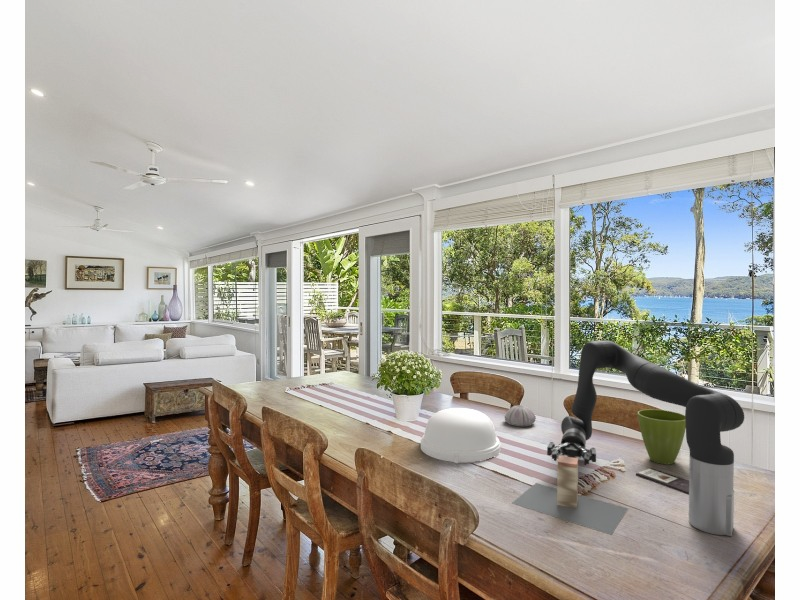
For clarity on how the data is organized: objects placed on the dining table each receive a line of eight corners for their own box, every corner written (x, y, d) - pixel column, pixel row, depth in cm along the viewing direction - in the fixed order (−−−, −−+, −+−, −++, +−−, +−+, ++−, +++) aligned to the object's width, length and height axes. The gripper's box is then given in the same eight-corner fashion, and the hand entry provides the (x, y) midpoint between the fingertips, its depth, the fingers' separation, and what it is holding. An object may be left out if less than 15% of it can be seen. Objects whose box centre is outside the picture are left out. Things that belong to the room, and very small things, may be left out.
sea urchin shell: (524, 430, 194) (524, 411, 194) (498, 423, 204) (498, 405, 204) (541, 424, 203) (541, 406, 203) (515, 417, 213) (515, 400, 213)
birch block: (577, 500, 129) (578, 458, 129) (576, 508, 124) (577, 464, 124) (558, 497, 131) (559, 455, 131) (557, 504, 127) (557, 461, 126)
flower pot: (631, 460, 160) (632, 415, 159) (644, 449, 171) (644, 406, 170) (680, 472, 149) (681, 423, 149) (690, 459, 160) (691, 414, 160)
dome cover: (427, 432, 192) (427, 399, 192) (500, 437, 186) (500, 402, 186) (413, 460, 161) (413, 420, 161) (500, 467, 155) (500, 426, 154)
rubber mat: (628, 510, 124) (628, 508, 124) (611, 536, 111) (611, 534, 111) (536, 484, 141) (536, 482, 141) (511, 504, 128) (511, 503, 128)
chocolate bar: (696, 495, 132) (635, 473, 147) (696, 498, 132) (635, 476, 147) (711, 487, 137) (651, 467, 152) (711, 491, 137) (651, 470, 152)
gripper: (551, 428, 156) (545, 444, 141) (597, 434, 150) (596, 451, 135) (550, 450, 156) (545, 468, 141) (596, 457, 150) (595, 476, 135)
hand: (570, 459), depth 138 cm, fingers open, 8 cm apart
